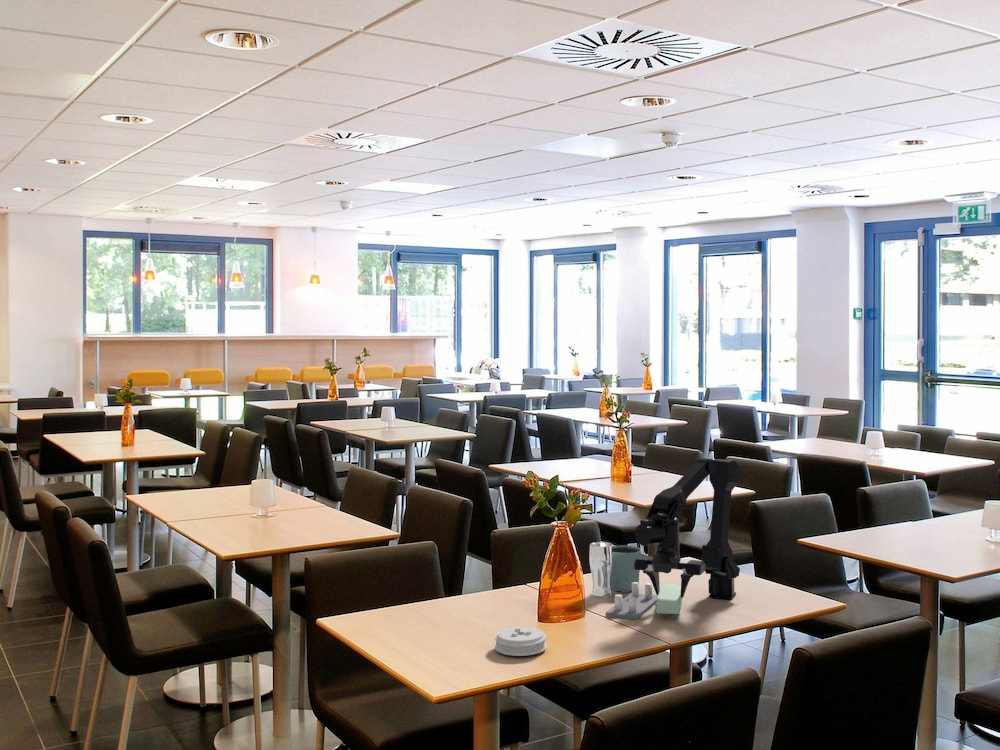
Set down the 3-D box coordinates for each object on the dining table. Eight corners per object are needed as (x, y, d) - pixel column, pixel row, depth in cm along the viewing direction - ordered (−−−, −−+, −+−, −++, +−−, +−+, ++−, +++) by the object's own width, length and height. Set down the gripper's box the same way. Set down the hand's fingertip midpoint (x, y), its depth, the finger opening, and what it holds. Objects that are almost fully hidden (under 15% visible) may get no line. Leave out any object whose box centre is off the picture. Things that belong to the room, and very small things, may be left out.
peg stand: (660, 599, 267) (660, 582, 267) (637, 619, 248) (636, 601, 248) (631, 596, 271) (630, 579, 271) (605, 616, 252) (605, 597, 252)
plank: (683, 595, 262) (682, 584, 262) (679, 613, 245) (679, 602, 245) (661, 594, 264) (661, 584, 264) (656, 613, 246) (656, 601, 246)
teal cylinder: (605, 584, 284) (604, 546, 284) (637, 583, 285) (636, 544, 285) (612, 593, 274) (611, 553, 274) (645, 591, 275) (644, 551, 275)
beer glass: (615, 597, 270) (613, 546, 269) (591, 598, 270) (589, 547, 269) (612, 591, 277) (611, 541, 276) (589, 591, 277) (588, 542, 276)
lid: (554, 655, 222) (553, 635, 222) (503, 662, 219) (503, 641, 219) (537, 639, 235) (536, 620, 234) (489, 646, 231) (488, 626, 231)
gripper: (626, 543, 251) (627, 600, 252) (694, 548, 242) (695, 607, 243) (639, 535, 261) (641, 590, 261) (705, 540, 252) (706, 596, 253)
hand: (670, 596), depth 254 cm, fingers closed on plank, 6 cm apart
